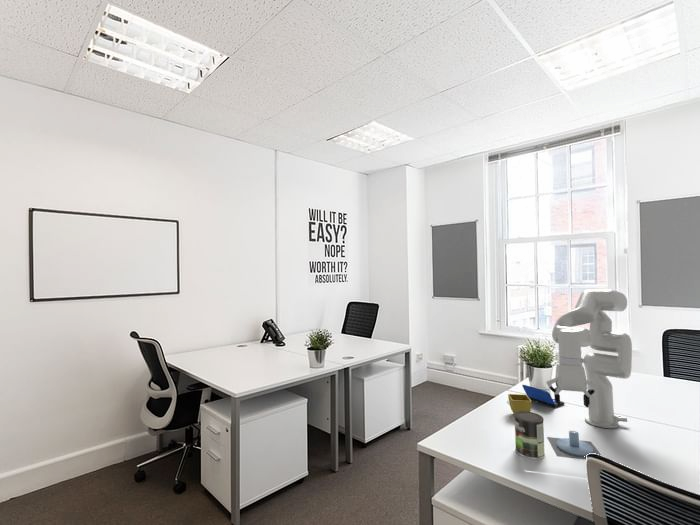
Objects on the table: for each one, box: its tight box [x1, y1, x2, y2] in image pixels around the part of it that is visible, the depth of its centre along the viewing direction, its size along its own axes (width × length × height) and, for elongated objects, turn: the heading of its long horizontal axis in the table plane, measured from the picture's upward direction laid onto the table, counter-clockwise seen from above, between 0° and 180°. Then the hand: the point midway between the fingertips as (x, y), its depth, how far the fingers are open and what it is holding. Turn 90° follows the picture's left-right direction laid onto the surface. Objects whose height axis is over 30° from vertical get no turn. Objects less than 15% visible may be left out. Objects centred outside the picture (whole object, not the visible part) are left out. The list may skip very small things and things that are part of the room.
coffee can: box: [513, 411, 546, 460], centre depth 136 cm, size 10×10×14 cm
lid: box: [557, 430, 593, 456], centre depth 137 cm, size 12×12×6 cm
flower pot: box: [507, 393, 533, 415], centre depth 170 cm, size 9×9×9 cm
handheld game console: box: [522, 384, 565, 409], centre depth 186 cm, size 16×13×9 cm
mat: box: [546, 436, 602, 460], centre depth 137 cm, size 16×16×1 cm
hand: (572, 405), depth 137 cm, fingers open, 9 cm apart
